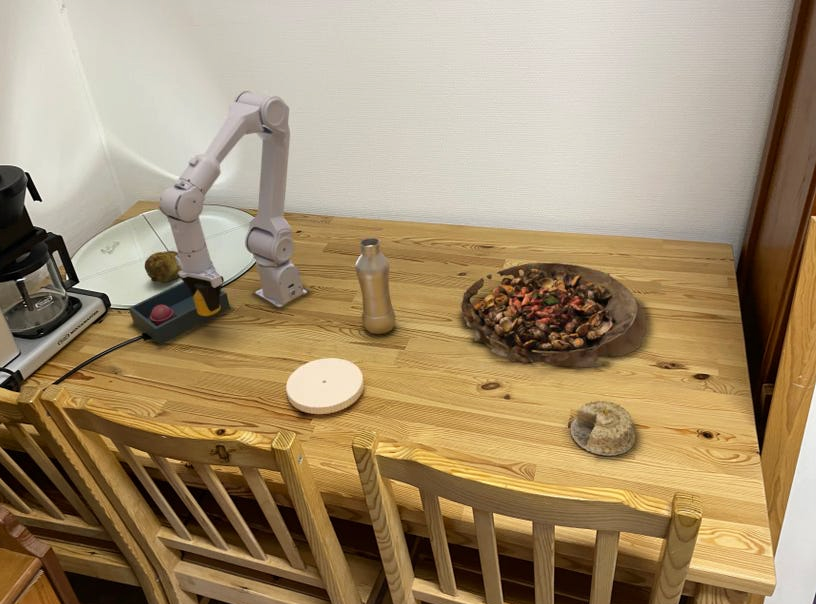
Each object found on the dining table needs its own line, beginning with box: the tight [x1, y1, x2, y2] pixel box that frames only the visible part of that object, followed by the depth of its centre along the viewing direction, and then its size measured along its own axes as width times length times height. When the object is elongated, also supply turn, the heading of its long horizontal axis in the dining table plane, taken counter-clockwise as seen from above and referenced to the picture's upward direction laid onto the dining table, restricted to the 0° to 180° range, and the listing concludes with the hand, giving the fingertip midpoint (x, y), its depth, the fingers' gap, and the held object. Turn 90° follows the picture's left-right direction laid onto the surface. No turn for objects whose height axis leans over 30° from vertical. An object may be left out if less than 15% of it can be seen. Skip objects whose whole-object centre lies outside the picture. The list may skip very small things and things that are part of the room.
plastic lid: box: [285, 357, 365, 415], centre depth 132 cm, size 14×14×2 cm
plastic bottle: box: [354, 237, 397, 335], centre depth 142 cm, size 6×7×20 cm
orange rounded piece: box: [193, 289, 220, 316], centre depth 148 cm, size 5×5×6 cm
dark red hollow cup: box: [150, 305, 175, 326], centre depth 155 cm, size 5×5×5 cm
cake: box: [569, 400, 636, 457], centre depth 114 cm, size 10×10×5 cm
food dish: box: [460, 262, 648, 369], centre depth 141 cm, size 35×33×8 cm
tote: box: [128, 281, 231, 346], centre depth 158 cm, size 12×17×5 cm
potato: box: [144, 250, 182, 283], centre depth 173 cm, size 8×13×8 cm, turn 154°
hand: (207, 304), depth 148 cm, fingers closed on orange rounded piece, 5 cm apart
